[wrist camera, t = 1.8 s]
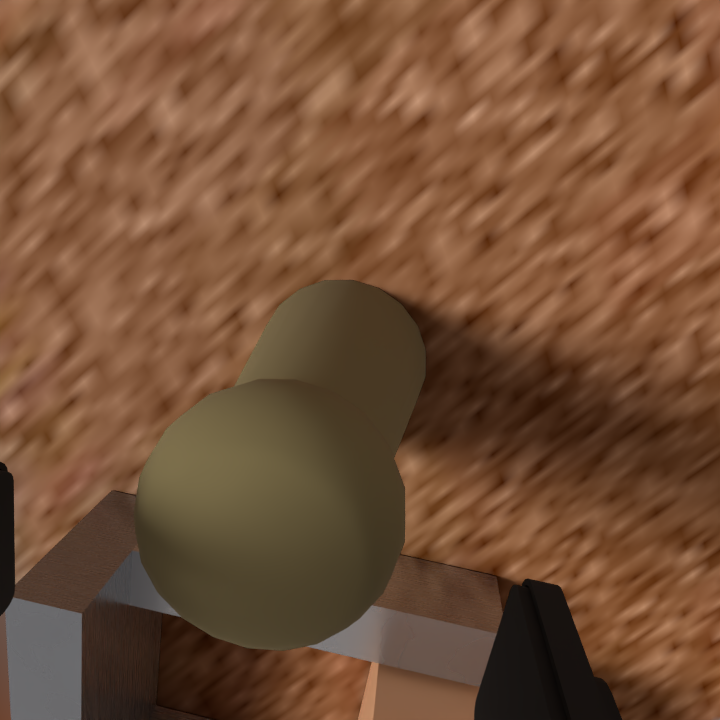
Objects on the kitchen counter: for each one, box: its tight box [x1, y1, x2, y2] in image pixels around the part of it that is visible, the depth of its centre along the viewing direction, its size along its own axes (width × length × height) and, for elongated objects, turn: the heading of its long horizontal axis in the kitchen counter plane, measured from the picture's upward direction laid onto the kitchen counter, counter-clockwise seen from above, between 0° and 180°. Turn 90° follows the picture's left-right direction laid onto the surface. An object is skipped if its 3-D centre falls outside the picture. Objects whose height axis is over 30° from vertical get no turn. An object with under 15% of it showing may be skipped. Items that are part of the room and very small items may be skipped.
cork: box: [134, 280, 426, 651], centre depth 14 cm, size 6×6×11 cm
